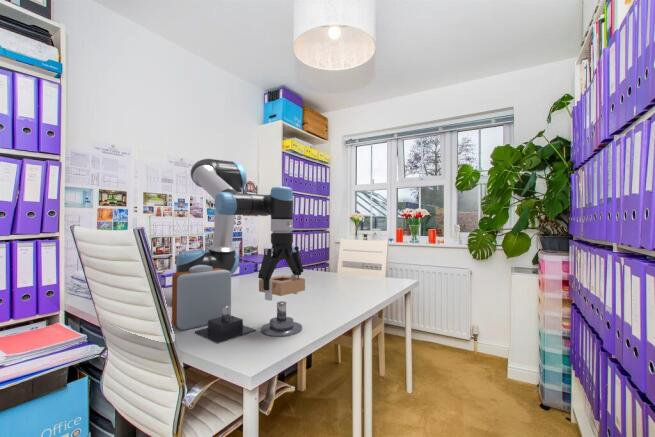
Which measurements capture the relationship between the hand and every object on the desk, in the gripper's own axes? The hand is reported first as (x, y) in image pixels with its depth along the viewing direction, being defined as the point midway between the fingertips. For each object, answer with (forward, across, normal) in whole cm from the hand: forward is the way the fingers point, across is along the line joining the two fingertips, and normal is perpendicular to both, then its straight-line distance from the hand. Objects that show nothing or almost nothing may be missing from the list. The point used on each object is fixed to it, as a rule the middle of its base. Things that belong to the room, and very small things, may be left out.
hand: (282, 296), depth 107 cm
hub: (+11, 0, 0) cm, 11 cm away
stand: (+11, -14, +12) cm, 22 cm away
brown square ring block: (-2, 0, 0) cm, 2 cm away
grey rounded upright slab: (+11, -14, +27) cm, 33 cm away
